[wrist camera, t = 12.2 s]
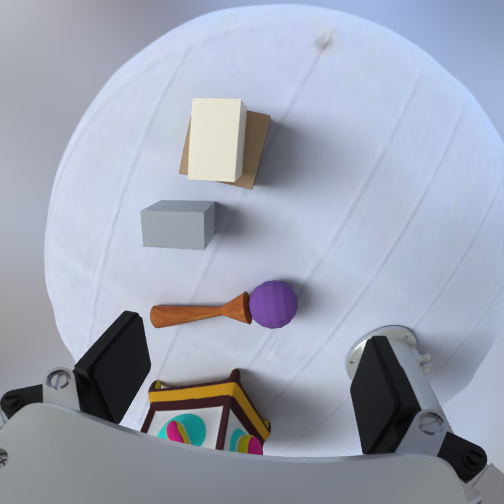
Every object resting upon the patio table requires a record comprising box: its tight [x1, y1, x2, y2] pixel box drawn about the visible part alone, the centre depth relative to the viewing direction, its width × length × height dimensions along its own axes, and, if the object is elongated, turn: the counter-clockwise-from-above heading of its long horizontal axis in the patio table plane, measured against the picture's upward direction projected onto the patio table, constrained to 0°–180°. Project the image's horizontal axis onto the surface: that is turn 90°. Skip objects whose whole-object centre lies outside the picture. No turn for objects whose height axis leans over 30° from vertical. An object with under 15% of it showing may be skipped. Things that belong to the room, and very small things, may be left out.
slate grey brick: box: [141, 200, 215, 250], centre depth 31 cm, size 7×4×6 cm, turn 88°
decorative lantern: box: [140, 369, 271, 455], centre depth 32 cm, size 20×20×30 cm
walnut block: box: [179, 111, 270, 190], centre depth 29 cm, size 8×8×4 cm
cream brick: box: [188, 98, 247, 182], centre depth 24 cm, size 7×4×6 cm, turn 175°
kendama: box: [150, 280, 298, 329], centre depth 36 cm, size 6×6×20 cm
